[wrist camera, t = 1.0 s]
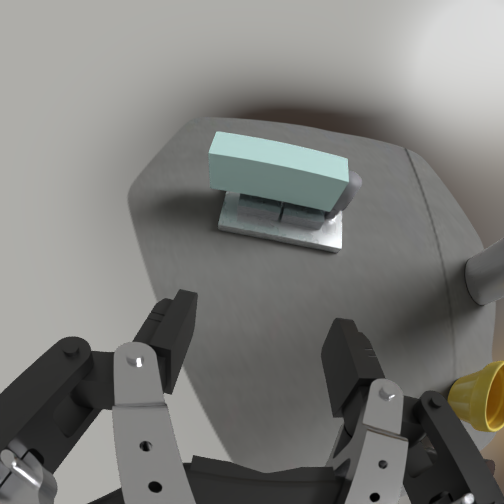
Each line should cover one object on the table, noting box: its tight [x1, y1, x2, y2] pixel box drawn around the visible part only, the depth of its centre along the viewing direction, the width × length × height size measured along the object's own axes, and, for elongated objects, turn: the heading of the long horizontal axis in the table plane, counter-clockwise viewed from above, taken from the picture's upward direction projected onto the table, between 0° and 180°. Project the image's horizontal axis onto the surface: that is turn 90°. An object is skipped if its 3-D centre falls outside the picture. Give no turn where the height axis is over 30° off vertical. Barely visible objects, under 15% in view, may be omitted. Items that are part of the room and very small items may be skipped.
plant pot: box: [447, 361, 504, 432], centre depth 24 cm, size 10×10×10 cm
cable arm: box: [208, 132, 362, 212], centre depth 31 cm, size 17×4×6 cm, turn 81°
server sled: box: [218, 191, 342, 253], centre depth 36 cm, size 16×10×4 cm, turn 81°
